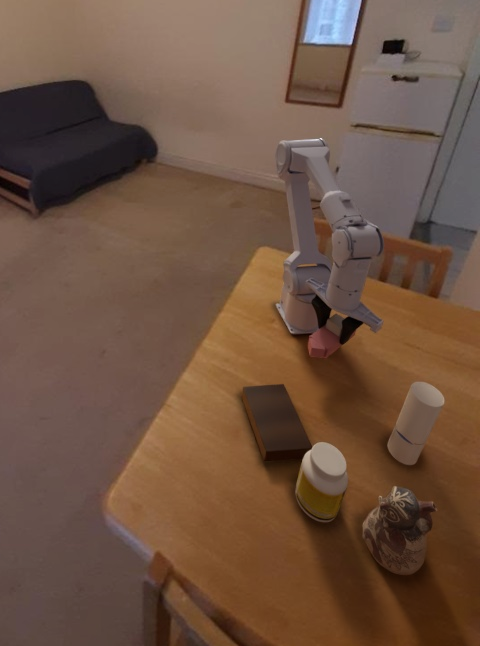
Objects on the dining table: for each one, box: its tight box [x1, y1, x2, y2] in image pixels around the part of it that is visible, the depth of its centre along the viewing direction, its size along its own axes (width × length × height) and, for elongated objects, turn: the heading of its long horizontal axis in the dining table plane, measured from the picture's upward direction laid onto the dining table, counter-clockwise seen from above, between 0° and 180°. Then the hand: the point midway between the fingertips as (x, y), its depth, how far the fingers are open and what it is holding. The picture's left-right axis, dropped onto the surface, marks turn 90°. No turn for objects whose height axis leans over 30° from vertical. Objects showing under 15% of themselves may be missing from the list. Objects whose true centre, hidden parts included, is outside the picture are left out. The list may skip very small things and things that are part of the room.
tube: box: [387, 380, 445, 466], centre depth 66 cm, size 4×4×15 cm
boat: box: [307, 313, 357, 359], centre depth 81 cm, size 12×4×5 cm, turn 123°
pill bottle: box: [294, 441, 349, 523], centre depth 61 cm, size 6×6×11 cm
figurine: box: [362, 485, 438, 576], centre depth 55 cm, size 7×7×12 cm
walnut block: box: [241, 383, 313, 463], centre depth 73 cm, size 12×8×3 cm, turn 3°
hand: (333, 334), depth 82 cm, fingers closed on boat, 4 cm apart
